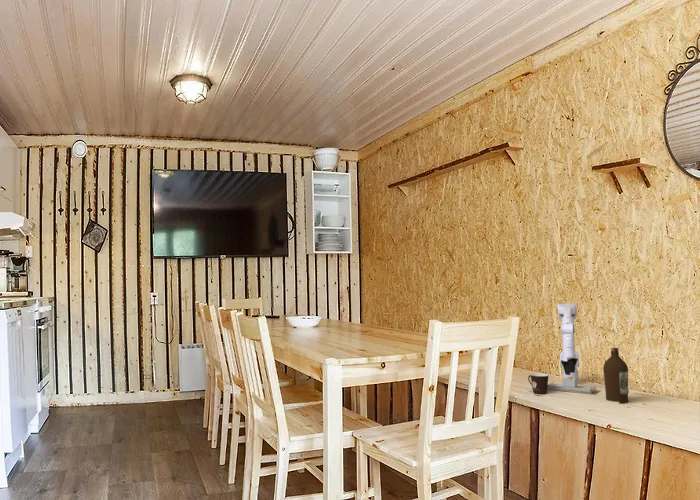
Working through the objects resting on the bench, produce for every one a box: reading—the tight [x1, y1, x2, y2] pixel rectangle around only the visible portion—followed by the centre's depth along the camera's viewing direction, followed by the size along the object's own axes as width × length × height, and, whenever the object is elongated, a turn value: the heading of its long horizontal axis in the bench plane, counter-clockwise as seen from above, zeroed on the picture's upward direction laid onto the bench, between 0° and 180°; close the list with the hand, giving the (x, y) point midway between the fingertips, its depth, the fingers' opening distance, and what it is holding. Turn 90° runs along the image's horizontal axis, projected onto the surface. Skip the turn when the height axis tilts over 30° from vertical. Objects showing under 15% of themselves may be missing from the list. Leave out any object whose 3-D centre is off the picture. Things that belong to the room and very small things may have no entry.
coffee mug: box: [527, 372, 549, 397], centre depth 284 cm, size 12×9×10 cm
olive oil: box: [602, 347, 630, 404], centre depth 265 cm, size 11×11×25 cm
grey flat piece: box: [547, 381, 597, 395], centre depth 288 cm, size 9×22×2 cm, turn 53°
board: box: [549, 390, 601, 396], centre depth 288 cm, size 11×26×1 cm, turn 53°
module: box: [562, 377, 578, 387], centre depth 287 cm, size 4×6×6 cm, turn 53°
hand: (569, 373), depth 287 cm, fingers open, 7 cm apart
